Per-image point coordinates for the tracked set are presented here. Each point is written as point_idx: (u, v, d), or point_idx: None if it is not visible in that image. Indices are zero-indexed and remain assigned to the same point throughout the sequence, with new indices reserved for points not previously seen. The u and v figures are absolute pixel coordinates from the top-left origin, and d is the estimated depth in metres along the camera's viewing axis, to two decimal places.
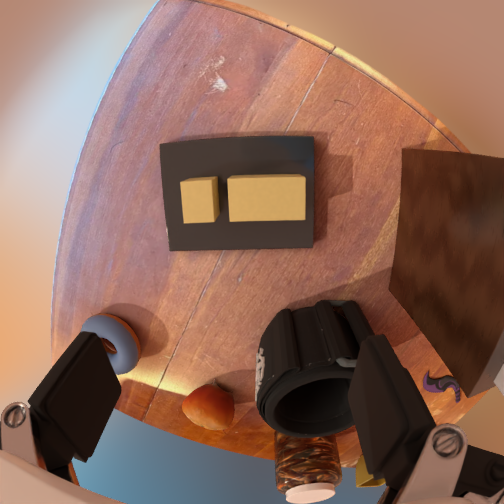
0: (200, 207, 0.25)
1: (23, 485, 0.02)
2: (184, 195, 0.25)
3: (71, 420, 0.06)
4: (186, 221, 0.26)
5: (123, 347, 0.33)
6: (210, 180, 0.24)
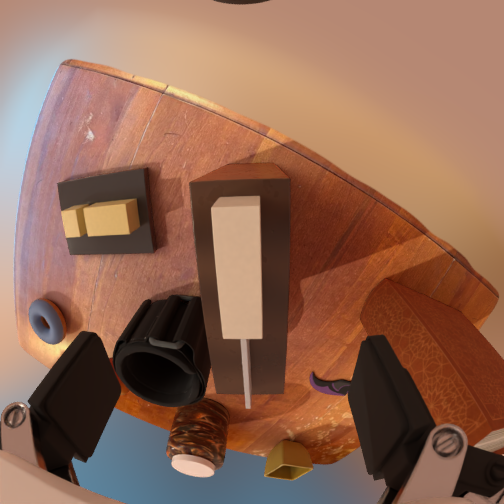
0: (72, 227, 0.33)
1: (23, 485, 0.02)
2: (64, 219, 0.33)
3: (71, 420, 0.06)
4: (67, 236, 0.33)
5: (51, 322, 0.41)
6: (75, 209, 0.32)
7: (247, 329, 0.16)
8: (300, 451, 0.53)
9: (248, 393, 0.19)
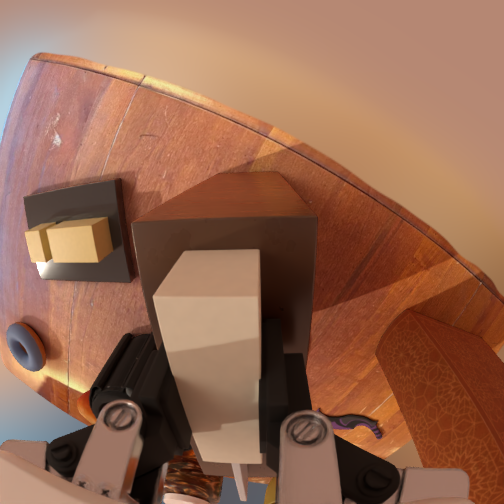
0: (36, 251, 0.25)
1: (23, 485, 0.02)
2: (28, 241, 0.25)
3: (179, 410, 0.07)
4: (32, 261, 0.26)
5: (29, 350, 0.33)
6: (38, 230, 0.25)
7: (238, 456, 0.08)
8: None
9: (243, 492, 0.11)
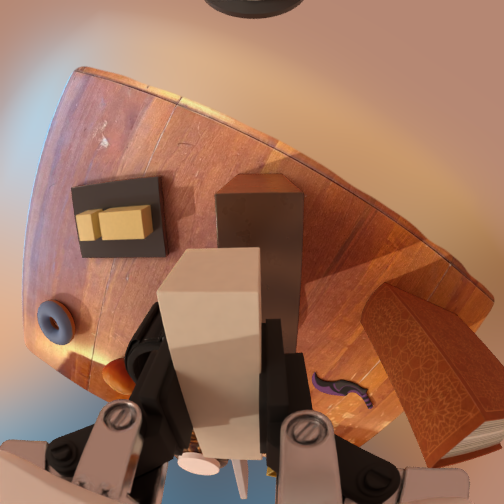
0: (86, 231, 0.35)
1: (23, 485, 0.02)
2: (78, 223, 0.35)
3: (178, 410, 0.07)
4: (81, 239, 0.36)
5: (61, 323, 0.43)
6: (90, 214, 0.34)
7: (239, 452, 0.09)
8: None
9: (243, 490, 0.11)
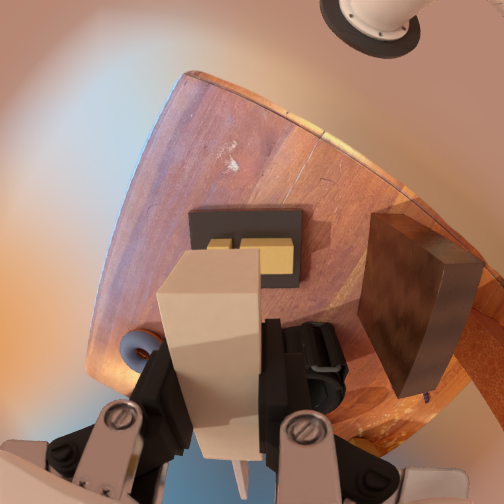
0: None
1: (23, 485, 0.02)
2: None
3: (179, 410, 0.07)
4: None
5: None
6: (228, 247, 0.37)
7: (239, 453, 0.09)
8: (368, 445, 0.57)
9: (243, 490, 0.11)
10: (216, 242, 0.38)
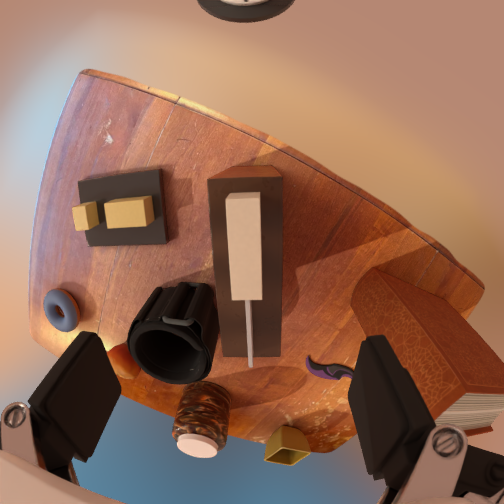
0: (81, 221, 0.39)
1: (23, 485, 0.02)
2: (74, 215, 0.38)
3: (71, 420, 0.06)
4: (76, 229, 0.39)
5: (66, 310, 0.46)
6: (84, 206, 0.38)
7: (250, 291, 0.22)
8: (298, 436, 0.58)
9: (251, 352, 0.24)
10: (82, 204, 0.39)
